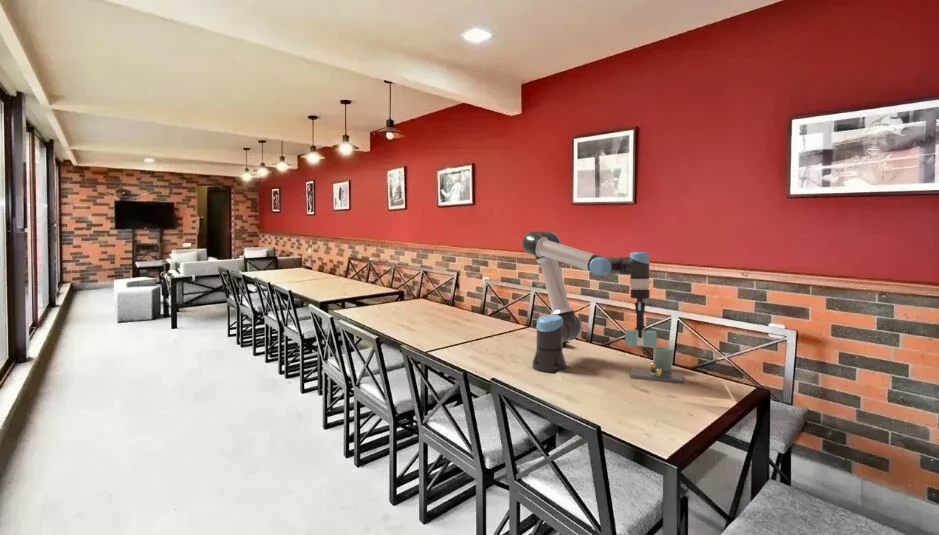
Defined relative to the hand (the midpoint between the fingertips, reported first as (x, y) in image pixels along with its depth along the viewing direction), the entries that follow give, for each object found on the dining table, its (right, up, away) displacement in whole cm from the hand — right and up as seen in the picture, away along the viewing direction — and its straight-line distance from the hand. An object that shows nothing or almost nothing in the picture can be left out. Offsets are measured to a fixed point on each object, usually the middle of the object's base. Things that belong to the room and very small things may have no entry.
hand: (640, 344), depth 189 cm
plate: (+7, -14, 0) cm, 15 cm away
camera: (-24, -12, +53) cm, 60 cm away
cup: (+14, -14, +10) cm, 22 cm away
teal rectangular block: (0, -1, 0) cm, 1 cm away
